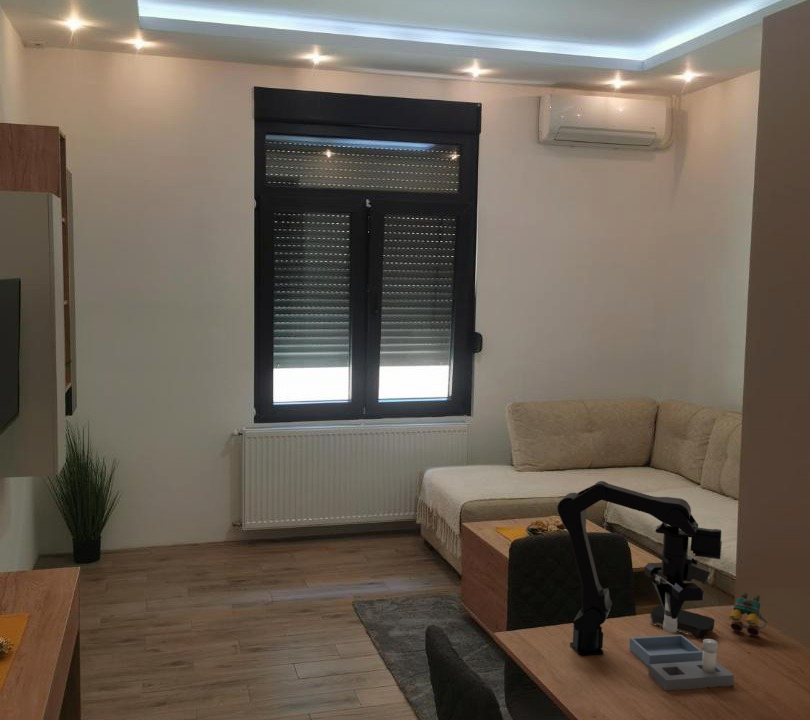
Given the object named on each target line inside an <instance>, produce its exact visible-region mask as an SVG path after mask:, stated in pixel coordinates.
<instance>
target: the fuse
mask: <svg viewBox="0 0 810 720" xmlns="http://www.w3.org/2000/svg"><path fill="white" fill-rule="evenodd" d="M718 643H719V642H718V641H716V639H712V638H703V640H702V651H703V656H702V669H701V670H703V671H704V672H705V673H712V672H716V671H715V668H716V661H717V652H718Z"/></svg>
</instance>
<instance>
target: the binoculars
mask: <svg viewBox="0 0 810 720" xmlns="http://www.w3.org/2000/svg"><path fill="white" fill-rule="evenodd" d="M760 599H761V595H758V594H755V595H754V596H753V599H748V594H747V592H744V591H742V592H741V597H738V598H737V599H736V602H735V604H734V606H733V609H732V610H731V611H730V613H729V619H730V620H732V621H731V623H730V625H729V626H730V628H731V630H733V631H735V632H742V631H743V629H744V628H746V632H747V633H748V634H749V635H750V636H753V637H754V636H759V635H760V630H762V629H764V628H765V627H767V624H768V622H767V620H766V619H765V617H763V616H762V614H761V613H760V612H761V611H760V608H761V603H760ZM745 614H746V615H747V617H746V619H745V622H746V624H744V622H742V617H743V615H745ZM760 620H761V621H763V622H764V625H762V626H759V621H760Z"/></svg>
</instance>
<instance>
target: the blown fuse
mask: <svg viewBox="0 0 810 720" xmlns="http://www.w3.org/2000/svg"><path fill="white" fill-rule="evenodd" d="M662 630H663V632H664V631H665V632H667V633H670V634H672V633H678V632H677V618H676V619H672V617H671V614H670V610H669V606H668V601H667V597H666V593H665V612H664V622H663V627H662Z"/></svg>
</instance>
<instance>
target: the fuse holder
mask: <svg viewBox="0 0 810 720" xmlns="http://www.w3.org/2000/svg"><path fill="white" fill-rule="evenodd" d="M701 669H702V661H691V662H677V663H662V664H649V667H648V676H649V677H650V678H652V680H653V681H654V682H656V683H657V684H658V685H659V686H660V687H661V688H662V689H663V690H665V692H667V691H669V692H670V691H679V690H691V689H692V690H694V689H695V690H696V689H707V687H709V688H718V687H717V686H722V687H731V685H732V687H733V686H734V681H735V675H734V674H733V673H732V672H731V671H729V670H728V669H727V668H726V667H724V666H723V665H722V664H720V663H719V662H718V661H717V660H716V668H715V671H716V672H712V673H705V672H704V671H703V670H701Z"/></svg>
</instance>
